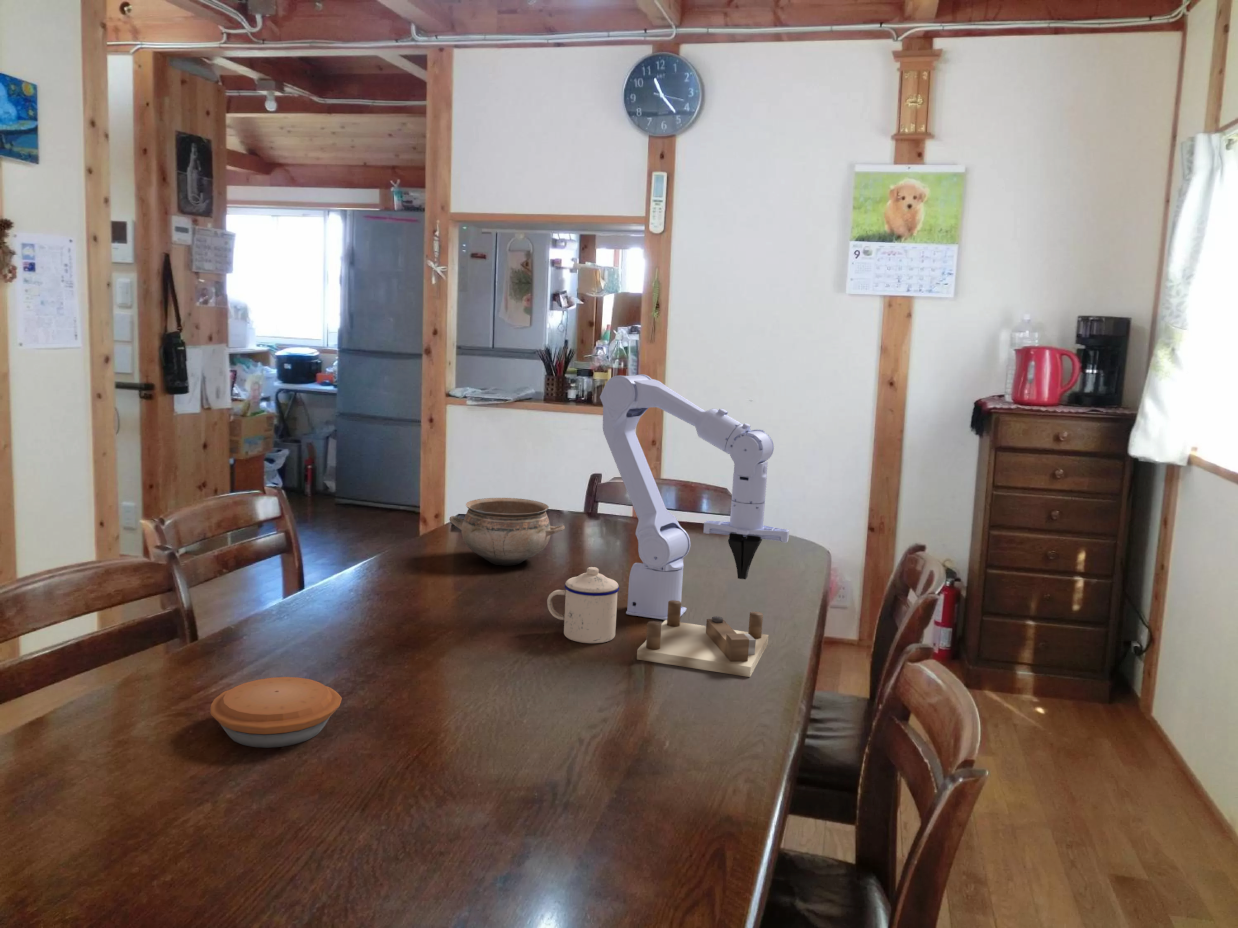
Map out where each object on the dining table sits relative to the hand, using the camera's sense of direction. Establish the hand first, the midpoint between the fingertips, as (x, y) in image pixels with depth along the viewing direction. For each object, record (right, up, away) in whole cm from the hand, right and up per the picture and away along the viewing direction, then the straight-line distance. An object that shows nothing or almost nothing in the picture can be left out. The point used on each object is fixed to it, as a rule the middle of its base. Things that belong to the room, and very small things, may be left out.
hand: (742, 577), depth 175 cm
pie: (-64, -14, -49) cm, 82 cm away
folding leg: (-4, -10, -13) cm, 17 cm away
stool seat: (-8, -11, -11) cm, 17 cm away
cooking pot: (-46, -1, +40) cm, 61 cm away
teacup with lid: (-28, -9, -6) cm, 30 cm away
